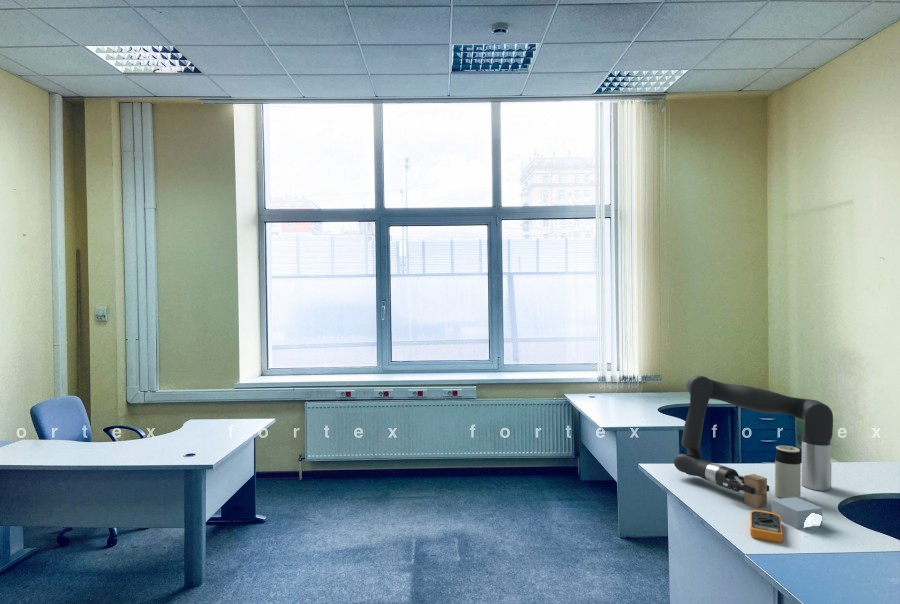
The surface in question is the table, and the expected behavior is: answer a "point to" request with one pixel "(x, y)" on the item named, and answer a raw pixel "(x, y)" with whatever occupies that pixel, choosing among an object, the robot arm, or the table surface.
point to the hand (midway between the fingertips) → (761, 490)
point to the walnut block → (756, 491)
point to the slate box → (794, 511)
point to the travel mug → (787, 472)
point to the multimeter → (766, 526)
